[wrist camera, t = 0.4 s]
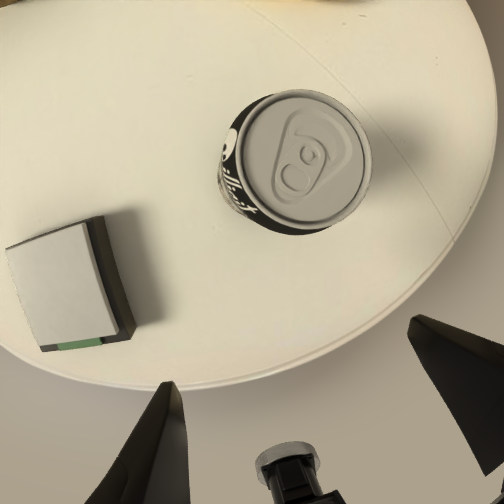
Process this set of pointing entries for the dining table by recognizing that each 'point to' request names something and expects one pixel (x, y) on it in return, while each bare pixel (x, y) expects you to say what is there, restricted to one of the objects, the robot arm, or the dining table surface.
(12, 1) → the bowl
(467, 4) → the dining table surface
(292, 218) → the beverage can
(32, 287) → the scale
